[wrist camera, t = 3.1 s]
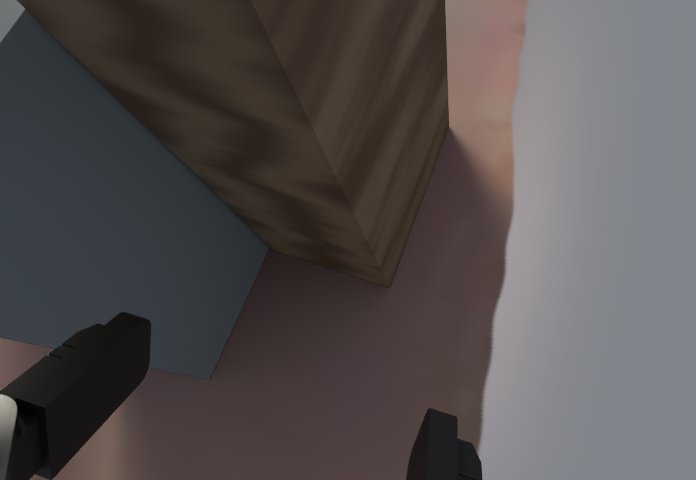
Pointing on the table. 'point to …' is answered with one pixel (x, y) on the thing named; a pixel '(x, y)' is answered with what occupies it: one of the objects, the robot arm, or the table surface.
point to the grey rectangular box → (106, 215)
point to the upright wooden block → (284, 108)
